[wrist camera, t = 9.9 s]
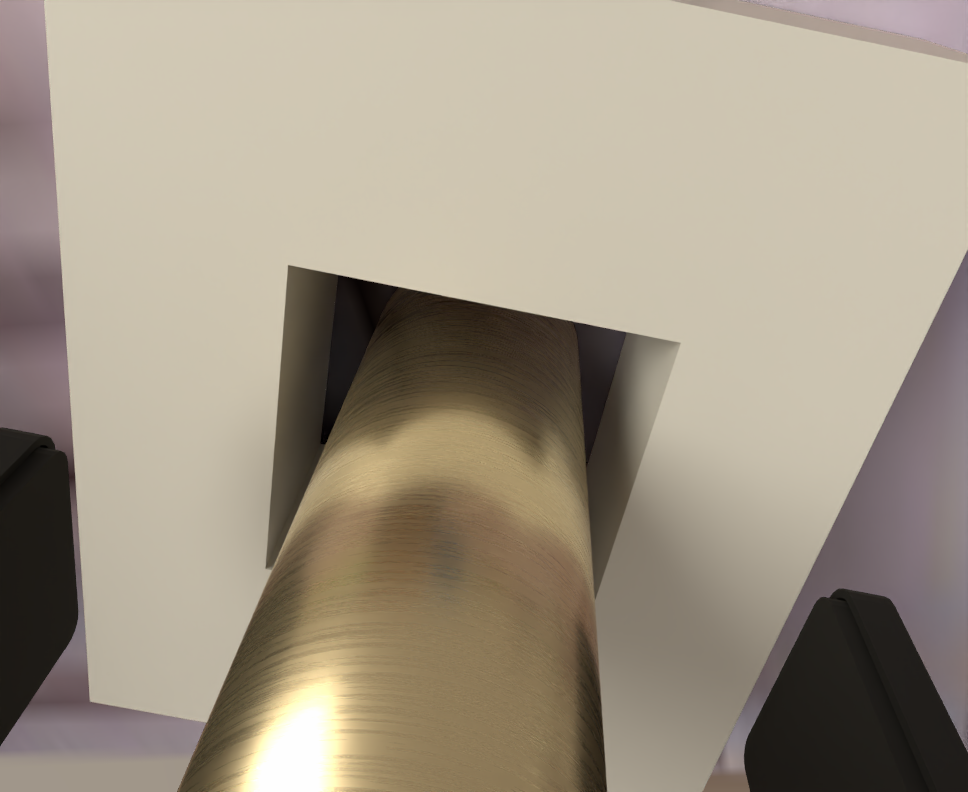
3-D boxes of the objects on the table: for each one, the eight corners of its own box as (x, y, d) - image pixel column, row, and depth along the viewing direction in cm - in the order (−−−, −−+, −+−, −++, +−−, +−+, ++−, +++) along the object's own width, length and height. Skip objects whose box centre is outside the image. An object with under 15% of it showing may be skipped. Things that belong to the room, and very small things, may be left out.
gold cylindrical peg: (601, 280, 16) (697, 971, 5) (552, 455, 18) (556, 1212, 7) (389, 237, 16) (72, 863, 5) (364, 419, 18) (97, 1137, 7)
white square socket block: (922, 39, 14) (1050, 81, 10) (668, 658, 20) (693, 811, 17) (171, -120, 13) (36, -133, 10) (169, 566, 20) (90, 701, 17)
